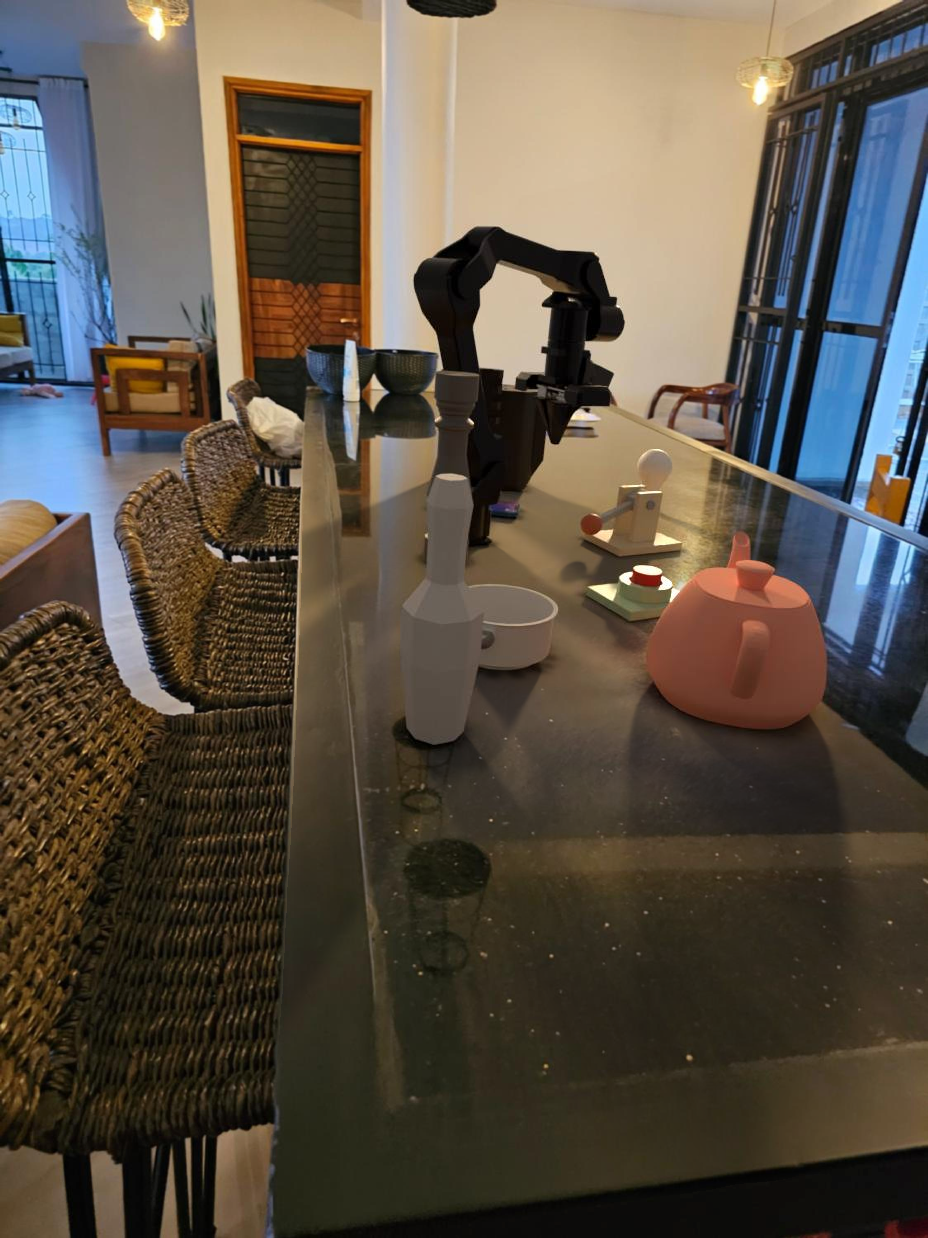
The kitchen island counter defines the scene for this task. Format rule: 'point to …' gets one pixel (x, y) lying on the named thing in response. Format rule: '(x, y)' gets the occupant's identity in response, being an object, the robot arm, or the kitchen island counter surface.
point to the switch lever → (607, 515)
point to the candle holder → (453, 426)
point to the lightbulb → (654, 469)
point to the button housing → (634, 597)
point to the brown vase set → (514, 426)
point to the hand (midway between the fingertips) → (554, 444)
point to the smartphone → (505, 509)
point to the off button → (646, 576)
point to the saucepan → (514, 626)
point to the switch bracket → (636, 526)
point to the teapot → (740, 646)
